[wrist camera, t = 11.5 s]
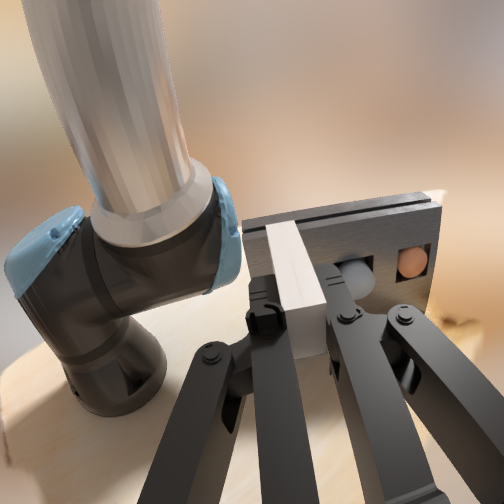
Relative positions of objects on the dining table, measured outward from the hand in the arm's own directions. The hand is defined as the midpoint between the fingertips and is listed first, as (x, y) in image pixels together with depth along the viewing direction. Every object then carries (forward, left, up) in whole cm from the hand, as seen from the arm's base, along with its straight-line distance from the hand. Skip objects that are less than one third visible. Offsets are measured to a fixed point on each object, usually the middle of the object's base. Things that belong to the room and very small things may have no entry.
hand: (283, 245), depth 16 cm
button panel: (+11, +13, -22) cm, 28 cm away
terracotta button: (+19, +11, -15) cm, 26 cm away
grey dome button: (+10, +11, -15) cm, 21 cm away
